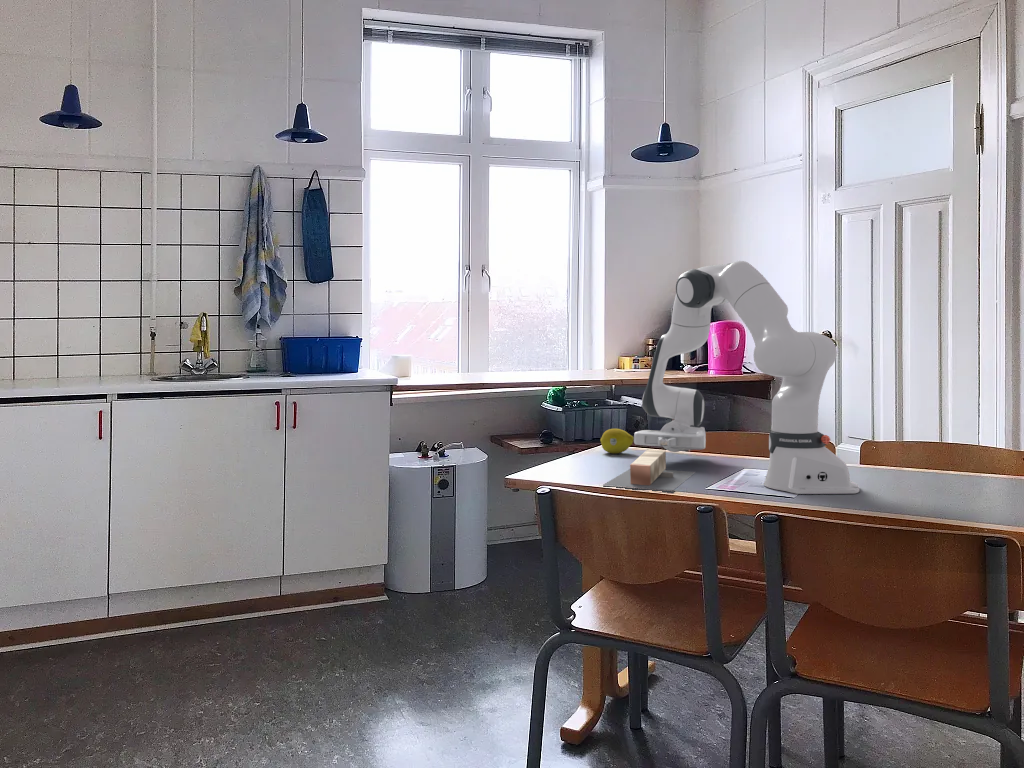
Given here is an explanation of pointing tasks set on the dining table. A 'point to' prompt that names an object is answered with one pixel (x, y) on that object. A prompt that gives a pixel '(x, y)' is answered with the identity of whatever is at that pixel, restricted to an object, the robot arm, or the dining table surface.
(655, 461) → the birch block
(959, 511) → the dining table surface
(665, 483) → the mat
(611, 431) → the lemon
